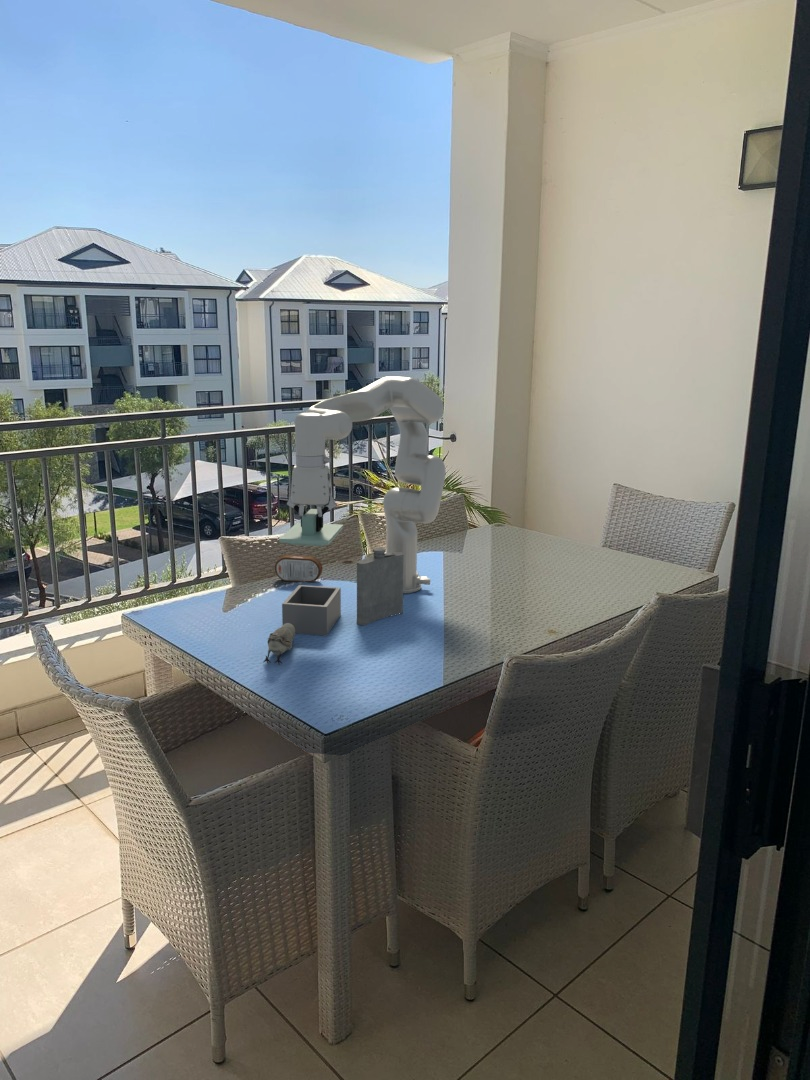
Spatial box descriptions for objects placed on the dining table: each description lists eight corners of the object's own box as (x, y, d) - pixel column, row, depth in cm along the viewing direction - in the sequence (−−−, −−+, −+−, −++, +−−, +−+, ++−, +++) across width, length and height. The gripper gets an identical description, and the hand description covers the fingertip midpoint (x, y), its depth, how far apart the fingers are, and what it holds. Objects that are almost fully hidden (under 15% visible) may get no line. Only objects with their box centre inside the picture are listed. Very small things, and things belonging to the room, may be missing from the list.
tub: (340, 614, 222) (340, 587, 220) (326, 635, 206) (326, 606, 204) (299, 611, 223) (298, 584, 221) (282, 632, 208) (282, 603, 206)
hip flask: (361, 626, 213) (362, 555, 208) (352, 622, 216) (352, 552, 211) (404, 612, 224) (406, 545, 219) (395, 609, 227) (396, 542, 222)
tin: (322, 580, 251) (322, 555, 249) (320, 583, 248) (320, 558, 246) (276, 578, 252) (275, 553, 250) (274, 581, 249) (273, 556, 247)
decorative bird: (301, 642, 202) (300, 615, 200) (282, 668, 187) (282, 638, 185) (280, 640, 203) (280, 613, 201) (260, 666, 188) (259, 637, 186)
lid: (343, 531, 216) (343, 506, 214) (328, 548, 200) (328, 522, 198) (297, 529, 218) (296, 504, 216) (279, 546, 202) (278, 519, 200)
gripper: (344, 460, 206) (345, 528, 211) (284, 457, 208) (286, 525, 213) (338, 465, 199) (339, 535, 204) (275, 462, 201) (278, 532, 206)
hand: (312, 529), depth 208 cm, fingers closed on lid, 3 cm apart
